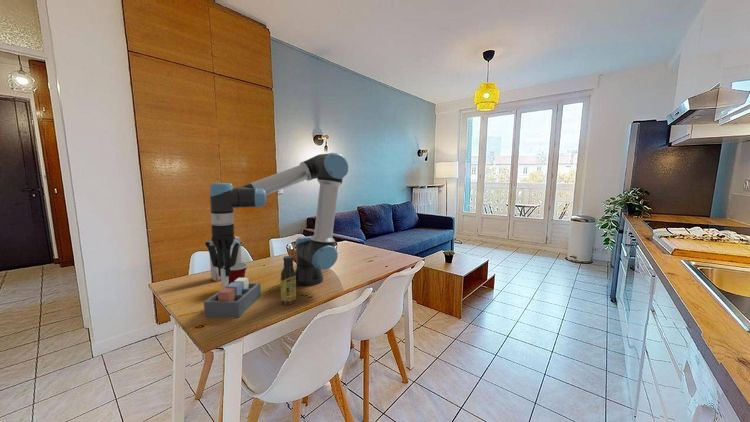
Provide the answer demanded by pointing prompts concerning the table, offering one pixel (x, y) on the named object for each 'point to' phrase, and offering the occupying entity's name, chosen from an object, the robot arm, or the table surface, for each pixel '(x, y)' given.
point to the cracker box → (215, 270)
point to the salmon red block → (226, 294)
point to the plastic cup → (237, 271)
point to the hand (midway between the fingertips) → (224, 284)
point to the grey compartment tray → (232, 303)
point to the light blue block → (236, 287)
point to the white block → (243, 282)
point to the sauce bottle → (288, 282)
